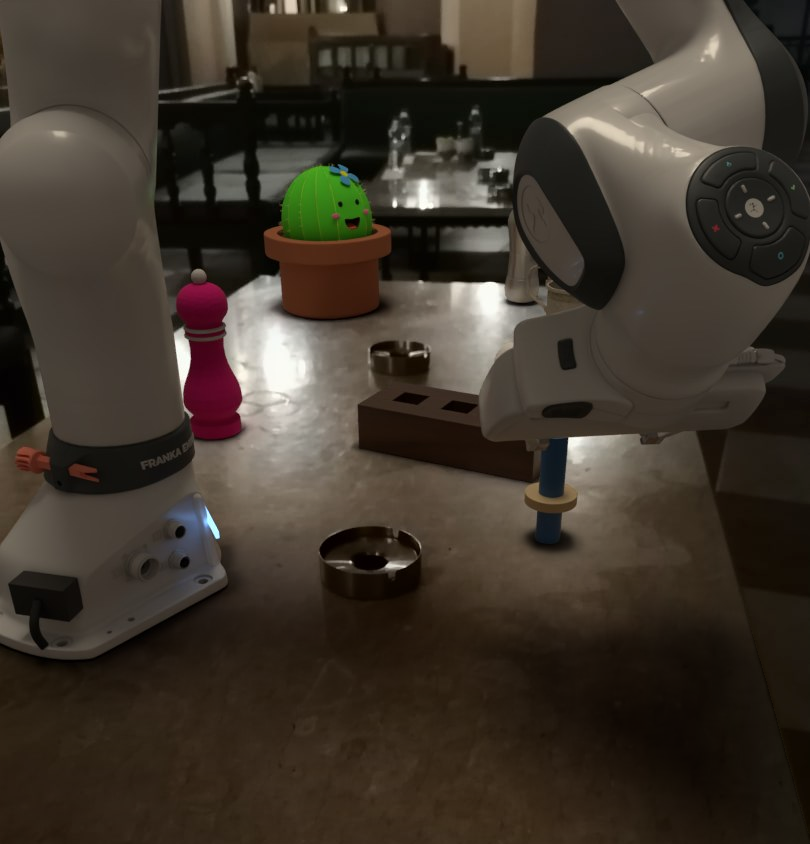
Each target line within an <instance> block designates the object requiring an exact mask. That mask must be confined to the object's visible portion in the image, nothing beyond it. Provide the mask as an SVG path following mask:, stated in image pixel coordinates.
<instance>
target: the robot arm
mask: <svg viewBox="0 0 810 844" xmlns="http://www.w3.org/2000/svg"><path fill="white" fill-rule="evenodd" d="M615 2H616V3H617V5H618V7H619V9H620V10H621V11H622V14H623V15H624V17H625V18H626V20H627V21H628V23H629V24H630V26H631V27H632V28H633V31H634V32H635V34H636V35H637V37H638V38H639V40H640V42H641V43H642V44H643V46H644V48H645V49H646V50H647V52H648V54H649V55H650V57H651V60H652V62H653V64H651V65H649V66H647V67H645V68H643V69H641V70H639V71H637V72H634V73H632V74H630V75H628V76H625V77H624V78H621V79H619V80H618V81H615V82H613V83H611V84H607V85H603V86H601V87H599V88H597V89H594V90H593V91H590V92H588V93H586V94H584V95H582V96H580V97H578V98H576V99H574V100H572V101H570V102H568V103H565V104H563V105H561V106H559V107H558V108H556V109H554V110H552V111H550V112H548V113H547V114H544V115H543V116H541V117H539V118H536V119H534V120H533V121H532V122H531V123H530V125H529V126H528V127H527V129H526V130H525V132H524V135H523V137H522V139H521V142H520V144H519V146H518V149H517V153H516V157H515V161H514V168H513V174H512V175H513V176H512V192H511V193H512V196H511V201H512V202H511V204H512V210H513V214H514V219H515V223H516V227H517V230H518V233H519V235H520V237H521V239H522V241H523V243H524V245H525V247H526V248H527V250H528V252H529V253H530V255H531V256H532V258H533V259H534V260H535V262H536V263H537V264H538V266H539V267H540V268H539V269H540V270H542V272H544V274H545V275H546V276H547V278H548V277H549V278H550V279H551V280H553V281H554V282H555V283H556V284H557V285H558V286H560V287H561V288H562V289H564V290H565V291H566V292H568V293H569V294H570V295H572V296H573V297H574V298H576V299H577V300H578V301H580V302H581V303H583V304H584V305H581V306H578V307H575V308H572V309H568V310H565V311H561V312H557V313H553V314H549V315H546V314H545V315H540V316H535V317H529V318H526V319H523V320H521V321H520V322H518V323H517V324H516V325H515V327H514V329H513V341H512V342H513V348H510V349H508V350H507V351H505V352H504V353H502V354H501V355H500V356H499V357H498V358H497V359H496V361H495V362H494V361H493V364H492V365H491V367H490V368H489V370H488V372H487V374H486V376H485V378H484V380H483V382H482V385H481V388H480V389H479V392H478V395H479V397H478V406H479V418H480V425H481V431H482V434H483V436H484V437H485V438H487V439H489V440H491V441H494V442H499V441H514V440H525V441H526V449H527V451H543V450H546V447H548V445H549V444H550V443H549V439H551V438H568V439H569V438H583V437H584V438H585V437H604V436H605V437H606V436H623V435H625V436H626V435H639V436H640V437H639V443H640V445H642V446H647V445H661V444H662V443H663V441H664V440H665V439H666V438H669V437H672V436H674V435H677V434H681V433H683V432H698V431H716V430H729V429H731V428H734V427H738V426H740V425H742V424H744V423H745V422H746V421H747V420H748V419H749V418H750V417H751V416H752V415H753V413H755V411H756V410H757V409H758V407H759V405H760V404H761V402H762V401H763V399H764V397H765V395H766V393H767V388H766V384H768V383H770V382H772V381H773V380H774V379H775V378H776V377H778V376H779V375H780V374H781V372H783V371H784V369H785V368H786V362H787V361H786V358H785V356H783V355H782V354H778V353H775V351H774V350H773V349H770V348H754V347H753V346H751V345H752V344H753V343H754V342H755V341H756V339H758V337H760V335H761V334H762V332H763V331H764V330H765V329H766V328H767V326H769V324H770V323H771V322H772V320H773V319H774V318H775V316H776V315H777V313H779V312H780V310H781V308H782V307H783V305H784V304H785V302H786V301H787V300H788V298H789V296H790V295H791V293H792V292H793V290H794V288H795V287H796V285H797V284H798V282H799V280H800V278H801V276H802V274H803V272H804V270H805V268H806V266H807V262H808V259H809V257H810V195H809V193H808V191H807V188H806V186H805V185H804V183H803V181H802V180H801V178H800V177H799V176H798V175H797V173H796V172H795V171H794V168H795V166H796V164H797V162H798V158H799V155H800V152H801V149H802V147H803V143H804V140H805V135H806V133H807V126H808V116H809V100H808V99H809V98H808V92H807V88H806V83H805V80H804V77H803V75H802V72H801V70H800V68H799V66H798V64H797V62H796V61H795V59H794V57H793V56H792V54H791V53H790V52H789V51H788V49H787V48H786V47H785V45H784V44H783V43H782V42H781V41H780V40H779V39H778V38H777V36H776V35H774V33H773V32H772V31H771V30H770V29H769V28H768V27H767V26H766V25H765V24H764V23H763V22H762V21H761V19H759V18H758V16H757V15H756V14H755V13H754V12H753V10H752V9H751V8H750V7H749V6H748V4H747V3H746V2H745V1H744V0H615ZM161 23H162V0H0V36H1V43H2V48H3V49H2V51H3V58H4V67H5V74H6V75H5V76H6V85H7V94H8V95H7V96H8V105H9V117H10V127H9V128H8V129H7V130H6V131H5V132H4V134H2V136H1V137H0V244H1V245H0V246H1V248H2V252H3V254H4V258H5V261H6V265H7V268H8V271H9V275H10V277H11V281H12V284H13V286H14V289H15V292H16V295H17V298H18V300H19V303H20V306H21V310H22V311H23V315H24V317H25V319H26V322H27V325H28V328H29V332H30V335H31V338H32V341H33V345H34V349H35V354H36V358H37V363H38V367H39V372H40V376H41V381H42V387H43V391H44V395H45V400H46V405H47V409H48V415H49V419H50V423H51V427H50V429H49V431H48V438H47V443H46V449H45V451H44V450H41V449H35V448H33V447H30V446H22V447H20V448H19V449H17V451H16V453H15V454H16V455H15V456H14V460H15V461H14V464H15V465H16V468H17V469H19V470H20V471H22V472H23V471H24V472H32V473H33V474H34V475H35V474H36V475H41V474H43V478H44V481H43V482H42V484H41V486H40V487H39V488H38V490H37V491H36V492H35V494H34V495H33V497H32V499H31V500H30V502H29V503H28V505H27V506H26V508H25V509H24V511H23V512H22V513H21V515H20V516H19V518H18V519H17V520H16V522H15V523H14V525H13V526H12V528H11V529H10V530H9V532H8V533H7V535H6V536H5V537H4V539H3V540H2V541H1V543H0V644H2V645H4V646H7V647H8V648H11V649H13V650H17V651H19V652H22V653H25V654H29V655H33V656H36V657H40V658H46V659H52V660H53V659H55V660H66V661H79V660H89V659H90V660H91V659H95V658H97V657H98V656H100V655H103V654H104V653H106V652H108V651H110V650H112V649H114V648H116V647H118V646H119V645H122V644H123V643H125V642H127V641H128V640H131V639H132V638H134V637H136V636H138V635H140V634H142V633H143V632H145V631H147V630H149V629H151V628H153V627H154V626H156V625H158V624H160V623H162V622H164V621H165V620H167V619H169V618H171V617H173V616H174V615H176V614H178V613H180V612H182V611H183V610H185V609H187V608H189V607H191V606H194V605H195V604H197V603H199V602H201V601H202V600H204V599H206V598H207V597H209V596H211V595H213V594H214V593H215V594H216V593H217V592H218V591H220V590H223V588H226V586H227V585H228V584H229V579H228V575H227V572H226V569H225V568H224V566H223V565H222V563H221V561H222V550H221V547H220V544H219V543H218V541H217V540H218V539H220V531H219V529H218V528H217V525H216V524H215V522H214V520H213V518H212V516H211V514H210V512H209V510H208V509H207V507H206V504H205V500H204V496H203V493H202V490H201V487H200V485H199V482H198V479H197V476H196V472H195V468H194V463H193V460H194V458H195V455H196V449H195V436H194V434H193V432H192V428H191V422H190V418H191V417H190V415H189V413H188V412H187V411H185V406H184V402H183V390H182V384H181V378H180V377H181V376H180V370H179V363H178V355H177V348H176V347H177V346H176V340H175V332H174V325H173V321H172V315H171V309H170V304H169V303H170V302H169V298H168V292H167V285H166V279H165V273H164V266H163V261H162V260H163V259H162V255H161V246H160V240H159V234H158V233H159V232H158V226H157V219H156V212H155V211H156V210H155V209H156V208H155V195H156V187H157V162H158V161H157V160H158V159H157V155H158V127H159V126H158V124H159V93H160V92H159V91H160V90H159V88H160V61H161V60H160V56H161V25H162V24H161Z"/></svg>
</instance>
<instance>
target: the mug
mask: <svg viewBox="0 0 810 844" xmlns="http://www.w3.org/2000/svg"><path fill="white" fill-rule="evenodd" d="M536 264H537V263H536ZM537 268H538V269H541V268H540V267H539V266H538V265H535V266H533V267H532V268H531V269H530V270H529V272H528V274H527V289H528V292H529V294H530V296H531V297H532V298H533V299H534V302H536V303H537V304H538V305H539V306H540V307H541V308H542V309H543V311H544V313H545V315H549V314H553V313H557V312H561V311H565V310H568V309H572V308H575V307H578V306H581V305H584V304H583V303H581V302H580V301H578V300H577V299H576V298H574V297H573V296H572V295H570V294H569V293H568V292H566V291H565V290H564V289H562V288H561V287H560V286H558V285H557V284H556V283H555V282H554V281H553V280H551V279H550V278H549V277H548V276H547V279H545V288H546V289H547V295H546V296H547V297H546V299H547V300H546V304H545V303H544V302H542V300H540V299H539V298H538V297H537V298H536V297H535V295H534V294H533V292H532V290H531V286H530V277H531V273H532V271H533V270H535V269H537Z"/></svg>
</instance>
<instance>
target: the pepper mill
mask: <svg viewBox="0 0 810 844" xmlns="http://www.w3.org/2000/svg"><path fill="white" fill-rule="evenodd" d="M190 279H191V281H192V282H191V283H188V284H186V285H185V286H183V287H182V288H181V289H180V290H179V292H178V294H177V296H176V301H175V309H176V312H177V315H178V317H179V318H180V319H181V320H182V321H183V322H184V323H185V324H184V325H183V327H182V329H183V331H184V334H183V336H184V338H185V339H186V340H187V341H188V345H189V354H190V356H189V357H190V361H189V368H188V371H187V374H186V378H185V382H184V384H183V389H182V399H183V406H184V408H185V409H186V410H187V411H188V412H189V414H191V415H192V416H191V417H190V422H191V428H192V432H193V434H194V437H195V438H198V439H203V440H223V439H227V438H230V437H233V436H235V435H237V434H239V432H241V430H242V427H243V426H242V418H241V417H242V416H241V415H240V413H239V412H237V411H238V409H239V408H240V407H241V405H242V403H243V392H242V387H241V385H240V382H239V379H238V378H237V376H236V374H235V372H234V371H233V369H232V368H231V366H230V364H229V361H228V358H227V355H226V350H225V343H224V340H225V339H224V338H225V337H226V336H227V335H228V333H227V330H226V327H227V324H226V322H225V321H223V320H224V318H225V317H226V316H227V314H228V312H229V311H228V310H229V303H228V298H227V295H226V293H225V292H224V290H222V287H220V286H218V285H217V284H214V283H212V282H207V274H206V272H205V271H204V270H203V269H201V268H196V269H193V271H192V272H191V274H190Z"/></svg>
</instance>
